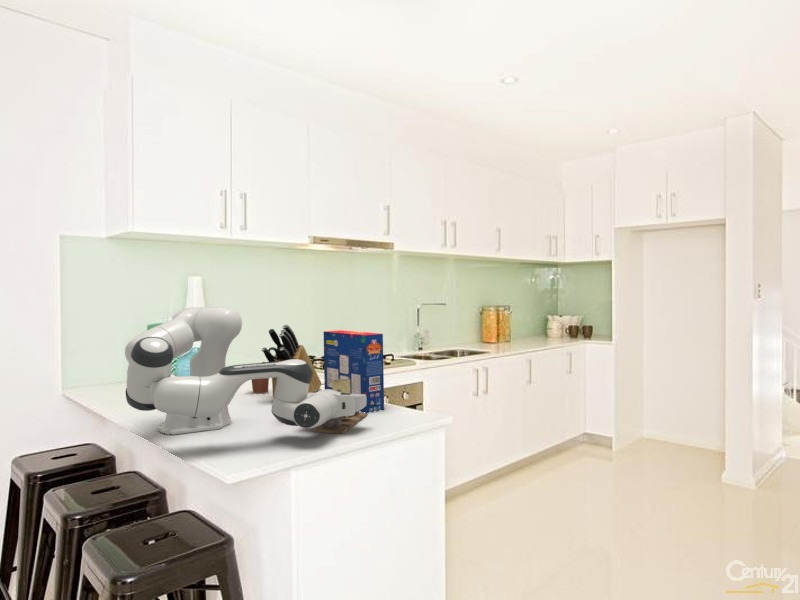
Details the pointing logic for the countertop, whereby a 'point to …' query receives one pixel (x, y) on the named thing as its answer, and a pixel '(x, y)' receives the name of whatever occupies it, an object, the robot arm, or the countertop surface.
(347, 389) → the block
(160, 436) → the countertop surface
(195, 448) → the countertop surface
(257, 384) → the coffee cup
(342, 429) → the shaft bench
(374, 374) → the pasta box
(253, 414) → the countertop surface
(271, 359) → the knife block
